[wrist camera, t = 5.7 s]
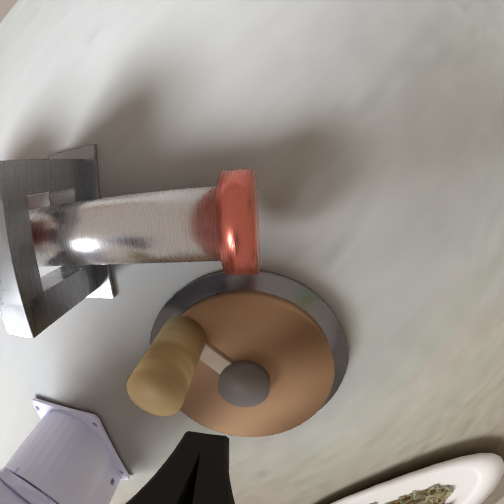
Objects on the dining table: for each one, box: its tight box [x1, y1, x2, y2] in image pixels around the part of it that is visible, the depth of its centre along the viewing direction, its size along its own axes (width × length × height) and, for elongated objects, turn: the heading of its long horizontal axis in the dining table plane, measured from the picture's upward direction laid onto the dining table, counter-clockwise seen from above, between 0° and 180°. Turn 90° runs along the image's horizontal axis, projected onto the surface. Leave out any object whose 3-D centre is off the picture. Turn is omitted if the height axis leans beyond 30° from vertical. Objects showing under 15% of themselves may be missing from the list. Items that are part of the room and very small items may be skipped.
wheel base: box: [150, 270, 347, 410], centre depth 18 cm, size 12×12×1 cm
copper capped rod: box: [29, 168, 260, 275], centre depth 13 cm, size 4×13×4 cm, turn 93°
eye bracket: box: [0, 144, 115, 338], centre depth 13 cm, size 9×10×7 cm
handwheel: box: [126, 290, 334, 437], centre depth 14 cm, size 10×10×6 cm
